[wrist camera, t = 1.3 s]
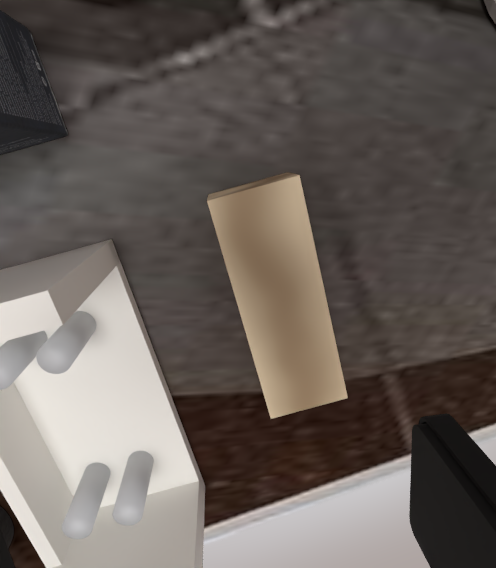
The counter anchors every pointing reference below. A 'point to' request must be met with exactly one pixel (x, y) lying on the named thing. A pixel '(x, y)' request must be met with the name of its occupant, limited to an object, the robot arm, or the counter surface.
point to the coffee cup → (6, 526)
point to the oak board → (279, 291)
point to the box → (24, 92)
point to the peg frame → (91, 421)
